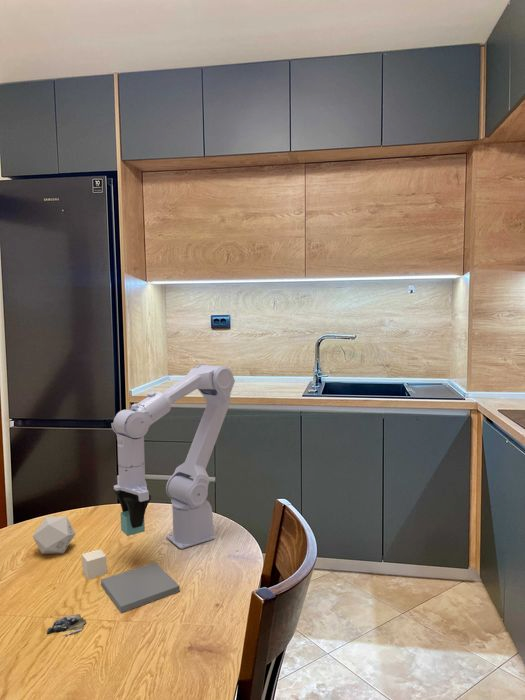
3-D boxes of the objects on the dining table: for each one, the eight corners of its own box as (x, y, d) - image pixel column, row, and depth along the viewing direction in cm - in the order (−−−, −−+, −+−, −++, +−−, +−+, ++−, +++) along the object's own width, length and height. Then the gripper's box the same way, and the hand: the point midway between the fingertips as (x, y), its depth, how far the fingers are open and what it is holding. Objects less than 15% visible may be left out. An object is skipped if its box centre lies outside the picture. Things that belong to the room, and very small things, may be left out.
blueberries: (91, 630, 88) (91, 619, 88) (44, 650, 83) (44, 640, 82) (77, 613, 93) (76, 603, 93) (32, 632, 88) (31, 621, 88)
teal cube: (138, 525, 114) (137, 508, 113) (144, 531, 110) (144, 513, 110) (121, 529, 111) (120, 512, 111) (127, 536, 108) (126, 518, 108)
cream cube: (101, 566, 110) (100, 548, 110) (106, 573, 107) (106, 555, 106) (82, 571, 107) (81, 554, 107) (87, 579, 104) (87, 561, 104)
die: (49, 566, 111) (75, 527, 114) (19, 545, 113) (45, 507, 115) (63, 561, 119) (87, 525, 122) (34, 542, 120) (59, 506, 123)
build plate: (155, 567, 109) (155, 562, 109) (179, 591, 99) (179, 585, 99) (101, 585, 102) (100, 579, 102) (121, 612, 92) (120, 606, 92)
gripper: (103, 459, 114) (105, 517, 115) (125, 475, 102) (127, 539, 103) (133, 454, 118) (134, 509, 119) (157, 469, 106) (159, 530, 107)
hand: (133, 523), depth 111 cm, fingers closed on teal cube, 4 cm apart
